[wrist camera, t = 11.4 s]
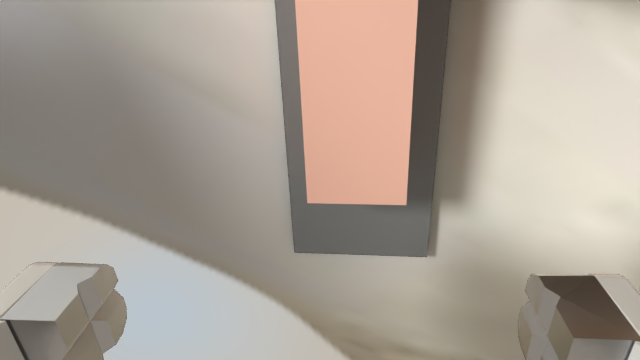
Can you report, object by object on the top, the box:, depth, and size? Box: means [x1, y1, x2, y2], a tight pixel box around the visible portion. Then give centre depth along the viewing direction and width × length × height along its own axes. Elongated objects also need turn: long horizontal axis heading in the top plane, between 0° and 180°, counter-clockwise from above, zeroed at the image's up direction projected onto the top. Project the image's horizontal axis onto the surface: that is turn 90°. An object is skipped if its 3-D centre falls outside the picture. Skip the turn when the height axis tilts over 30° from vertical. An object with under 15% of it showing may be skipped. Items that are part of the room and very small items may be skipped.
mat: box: [275, 0, 451, 257], centre depth 20 cm, size 7×16×1 cm, turn 2°
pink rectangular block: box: [295, 0, 418, 205], centre depth 16 cm, size 4×14×4 cm, turn 2°
